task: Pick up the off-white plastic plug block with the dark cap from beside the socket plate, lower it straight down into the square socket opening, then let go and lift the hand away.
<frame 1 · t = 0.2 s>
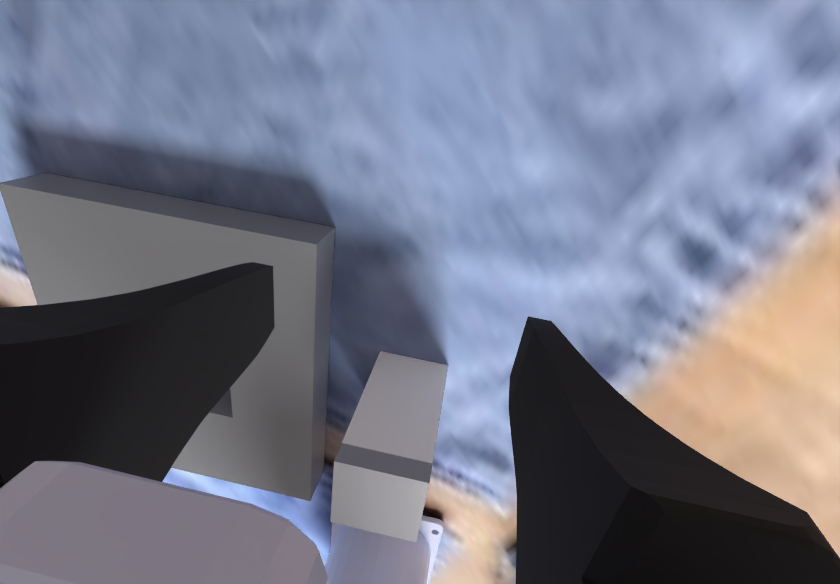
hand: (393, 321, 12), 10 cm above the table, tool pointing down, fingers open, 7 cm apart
socket: (203, 341, 26), on the table
plug: (409, 385, 25), on the table
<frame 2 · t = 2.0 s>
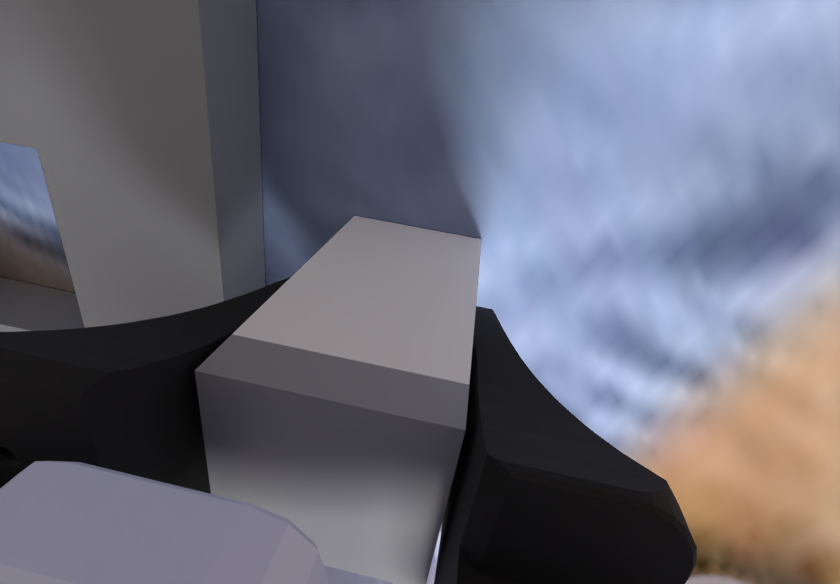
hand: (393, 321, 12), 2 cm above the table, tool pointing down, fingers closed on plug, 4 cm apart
socket: (48, 214, 15), on the table
plug: (409, 284, 14), on the table, touching gripper
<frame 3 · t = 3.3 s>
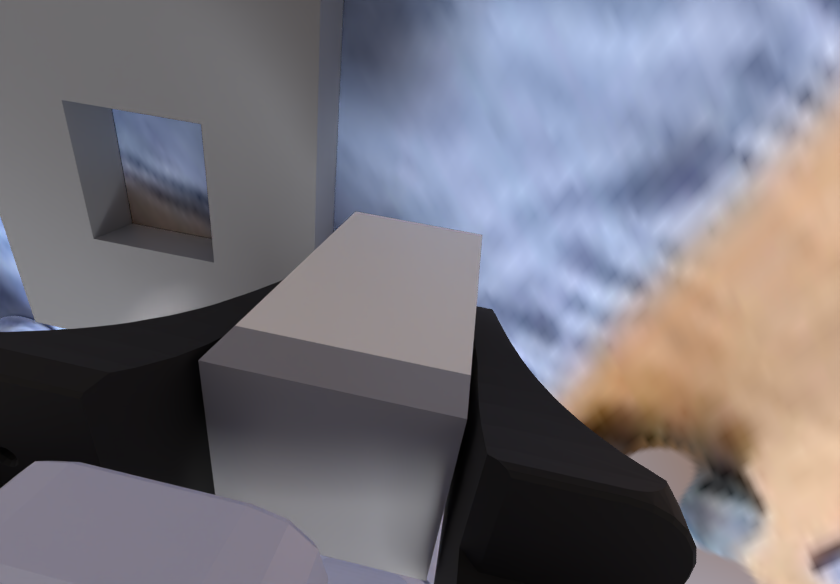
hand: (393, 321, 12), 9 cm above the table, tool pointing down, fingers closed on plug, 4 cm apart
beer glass: (40, 352, 29), on the table
socket: (179, 175, 21), on the table
plug: (410, 280, 14), point 7 cm above the table, touching gripper
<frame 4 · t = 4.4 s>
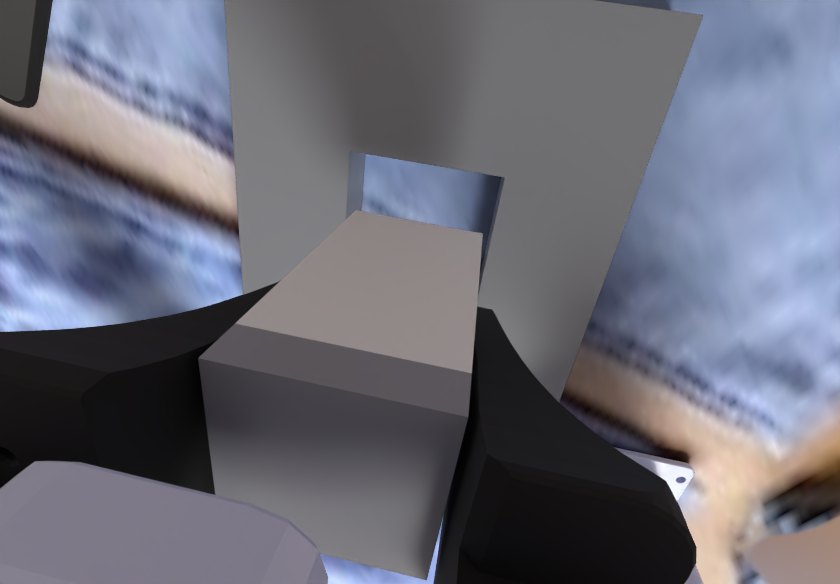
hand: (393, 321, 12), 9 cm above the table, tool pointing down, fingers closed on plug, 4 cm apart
socket: (424, 221, 20), on the table
plug: (410, 279, 14), point 7 cm above the table, touching gripper
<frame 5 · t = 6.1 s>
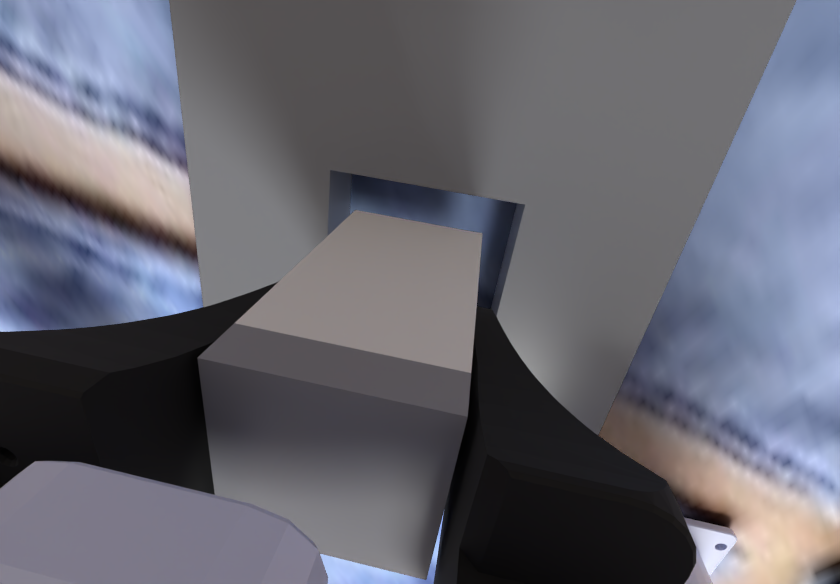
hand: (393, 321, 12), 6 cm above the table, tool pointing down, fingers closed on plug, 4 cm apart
socket: (423, 250, 17), on the table
plug: (410, 279, 14), point 3 cm above the table, touching gripper
when the fingers open (3 cm above the table, at t = 7.2 s): plug stays where it is, resting in socket.
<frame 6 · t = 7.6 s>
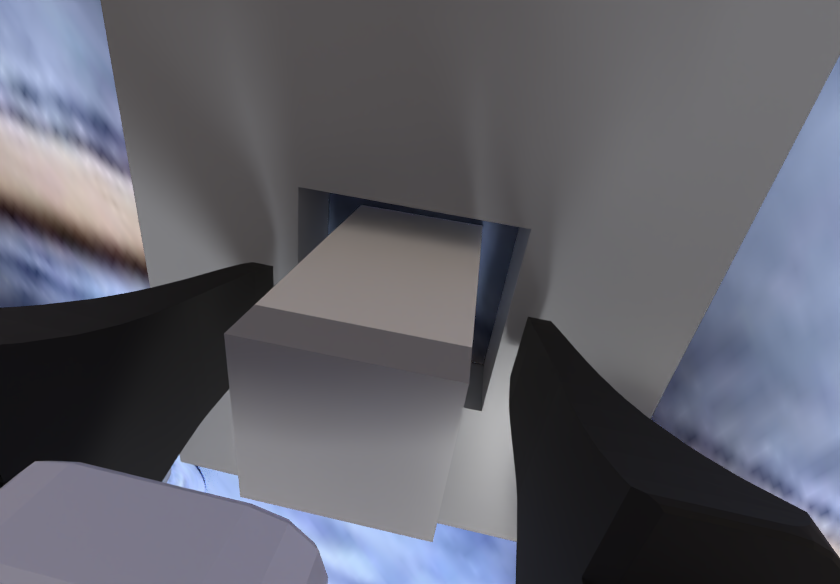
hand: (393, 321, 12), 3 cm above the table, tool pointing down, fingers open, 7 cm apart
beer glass: (154, 470, 22), on the table
socket: (413, 275, 15), on the table
plug: (413, 270, 15), resting in socket
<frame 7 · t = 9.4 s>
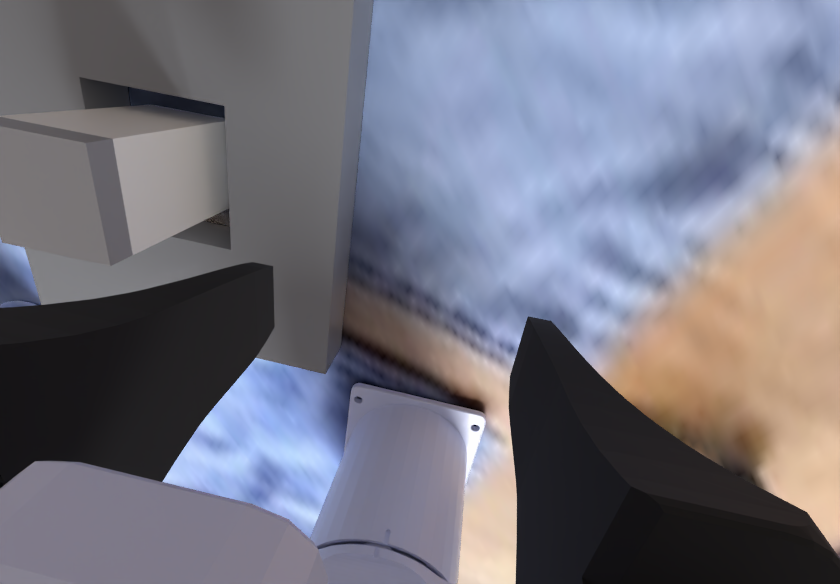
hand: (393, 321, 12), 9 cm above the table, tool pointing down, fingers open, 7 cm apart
socket: (195, 159, 21), on the table
plug: (196, 156, 21), resting in socket
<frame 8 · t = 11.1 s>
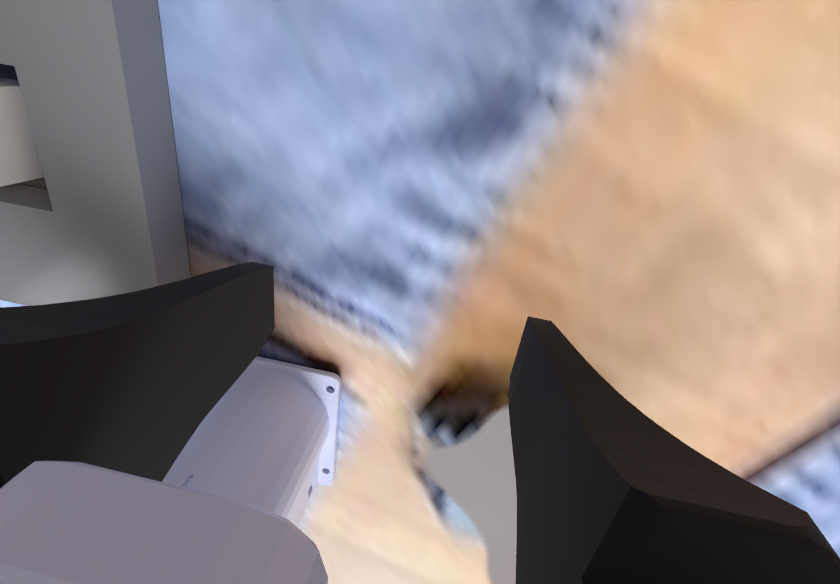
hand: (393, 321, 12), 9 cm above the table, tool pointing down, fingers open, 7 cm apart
socket: (26, 127, 21), on the table
plug: (26, 124, 21), resting in socket
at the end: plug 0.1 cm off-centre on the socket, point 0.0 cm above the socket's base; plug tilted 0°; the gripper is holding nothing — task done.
